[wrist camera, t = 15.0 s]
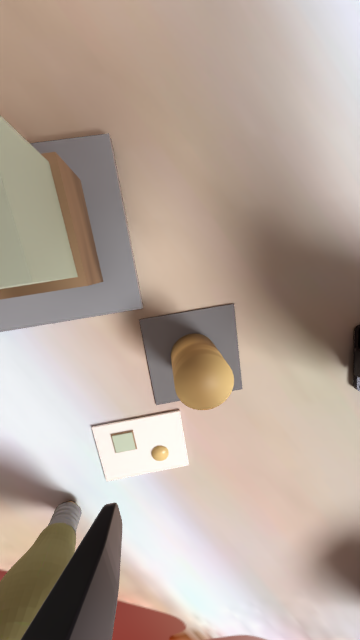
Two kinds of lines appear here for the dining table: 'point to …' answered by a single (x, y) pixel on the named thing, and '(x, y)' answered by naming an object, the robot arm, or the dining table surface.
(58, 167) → the walnut block
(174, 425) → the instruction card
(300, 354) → the dining table surface
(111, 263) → the plate
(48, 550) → the light bulb
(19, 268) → the sage block
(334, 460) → the dining table surface
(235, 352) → the charcoal pad
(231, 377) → the ochre peg
